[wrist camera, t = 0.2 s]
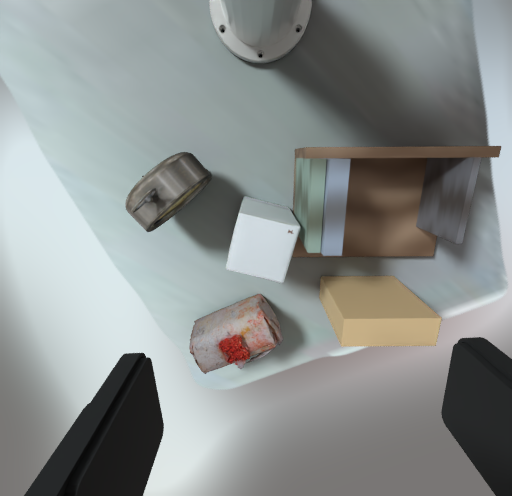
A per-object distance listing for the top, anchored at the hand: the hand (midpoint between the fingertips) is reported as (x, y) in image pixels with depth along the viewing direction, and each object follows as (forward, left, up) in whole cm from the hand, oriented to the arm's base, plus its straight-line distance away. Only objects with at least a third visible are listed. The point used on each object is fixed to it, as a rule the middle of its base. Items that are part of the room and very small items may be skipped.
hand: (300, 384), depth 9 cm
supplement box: (+3, -1, -37) cm, 37 cm away
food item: (+20, -5, -37) cm, 42 cm away
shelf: (0, +15, -37) cm, 40 cm away
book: (+14, +15, -37) cm, 42 cm away
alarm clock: (-3, -13, -37) cm, 39 cm away
